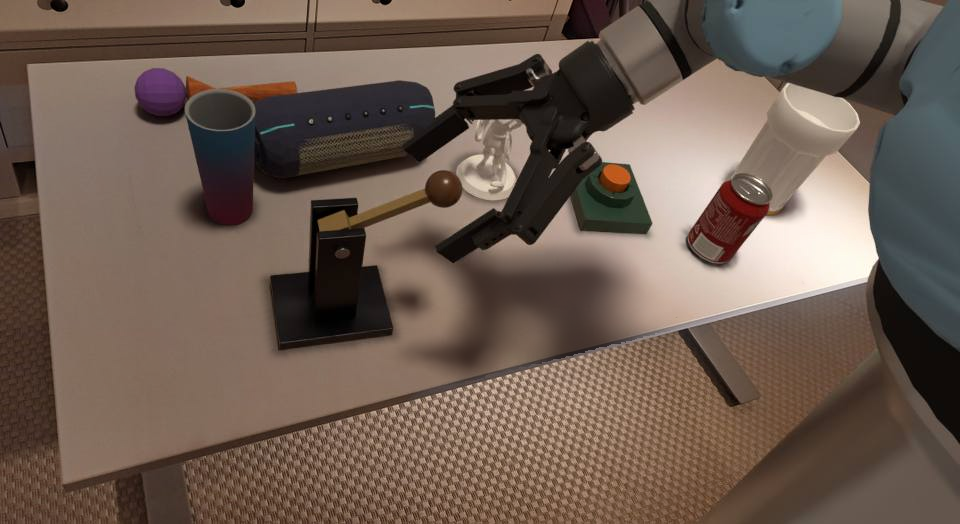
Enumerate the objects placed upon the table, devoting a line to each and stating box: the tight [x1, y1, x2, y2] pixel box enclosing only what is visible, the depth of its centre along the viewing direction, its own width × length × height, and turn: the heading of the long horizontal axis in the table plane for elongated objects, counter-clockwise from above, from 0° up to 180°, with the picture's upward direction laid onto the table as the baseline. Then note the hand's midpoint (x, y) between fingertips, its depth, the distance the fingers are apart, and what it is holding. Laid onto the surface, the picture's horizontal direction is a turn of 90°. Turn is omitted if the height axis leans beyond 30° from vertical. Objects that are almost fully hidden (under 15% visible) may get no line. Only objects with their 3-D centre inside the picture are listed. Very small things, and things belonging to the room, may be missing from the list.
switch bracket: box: [269, 197, 394, 350], centre depth 67 cm, size 12×9×15 cm
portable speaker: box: [252, 80, 436, 179], centre depth 85 cm, size 25×10×10 cm, turn 118°
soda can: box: [687, 173, 773, 264], centre depth 89 cm, size 7×7×12 cm
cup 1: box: [184, 88, 256, 226], centre depth 73 cm, size 7×7×15 cm
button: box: [599, 164, 631, 193], centre depth 91 cm, size 4×4×2 cm
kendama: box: [133, 67, 298, 117], centre depth 88 cm, size 6×6×20 cm
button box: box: [570, 161, 654, 235], centre depth 93 cm, size 12×10×4 cm
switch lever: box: [318, 169, 464, 231], centre depth 63 cm, size 14×4×4 cm, turn 107°
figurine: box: [455, 119, 524, 201], centre depth 87 cm, size 9×9×15 cm
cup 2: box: [728, 82, 861, 216], centre depth 97 cm, size 11×11×17 cm
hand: (426, 201), depth 64 cm, fingers open, 13 cm apart
